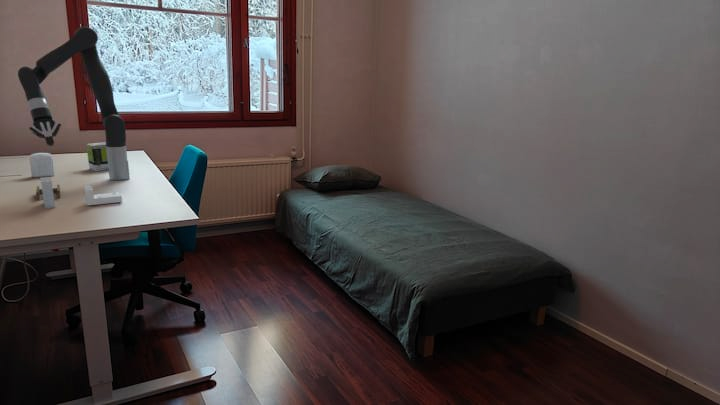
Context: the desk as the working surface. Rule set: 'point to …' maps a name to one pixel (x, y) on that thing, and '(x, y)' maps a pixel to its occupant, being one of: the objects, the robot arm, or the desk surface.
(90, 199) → the bracket
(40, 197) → the walnut box
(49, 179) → the grey rectangular block
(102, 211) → the desk surface
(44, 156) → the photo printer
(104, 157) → the tea box
